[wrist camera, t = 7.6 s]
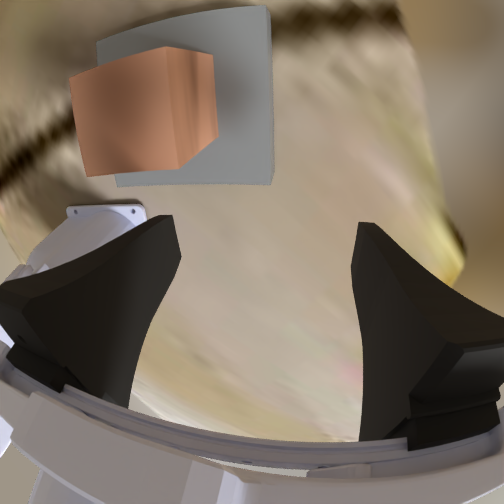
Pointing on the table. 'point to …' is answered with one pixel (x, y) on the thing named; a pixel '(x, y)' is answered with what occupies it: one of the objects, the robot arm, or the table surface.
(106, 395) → the robot arm
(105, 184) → the table surface
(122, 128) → the terracotta cube
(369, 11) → the table surface
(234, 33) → the gray plinth
